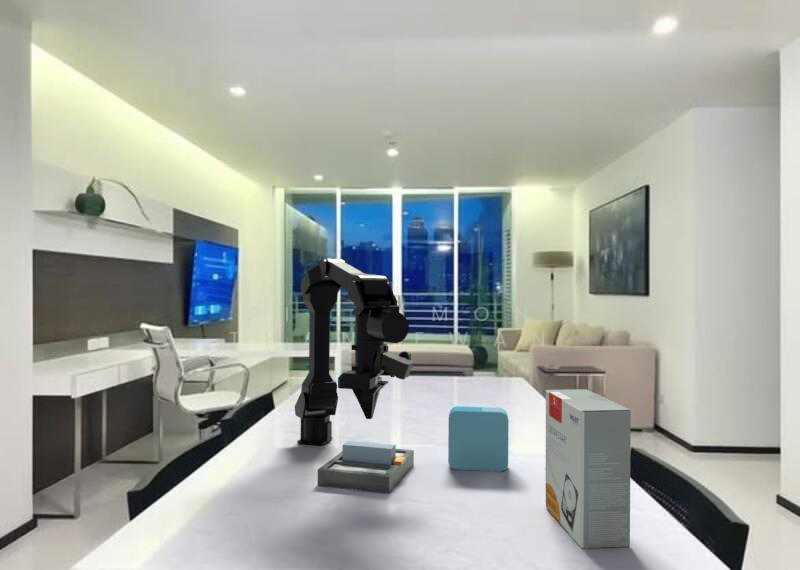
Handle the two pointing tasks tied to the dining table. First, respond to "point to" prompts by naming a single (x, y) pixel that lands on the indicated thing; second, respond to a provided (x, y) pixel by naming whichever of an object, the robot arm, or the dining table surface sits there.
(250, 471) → the dining table surface
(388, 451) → the block
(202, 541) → the dining table surface
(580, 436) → the hard drive box
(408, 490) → the dining table surface
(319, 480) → the frame
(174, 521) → the dining table surface
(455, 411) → the data package
